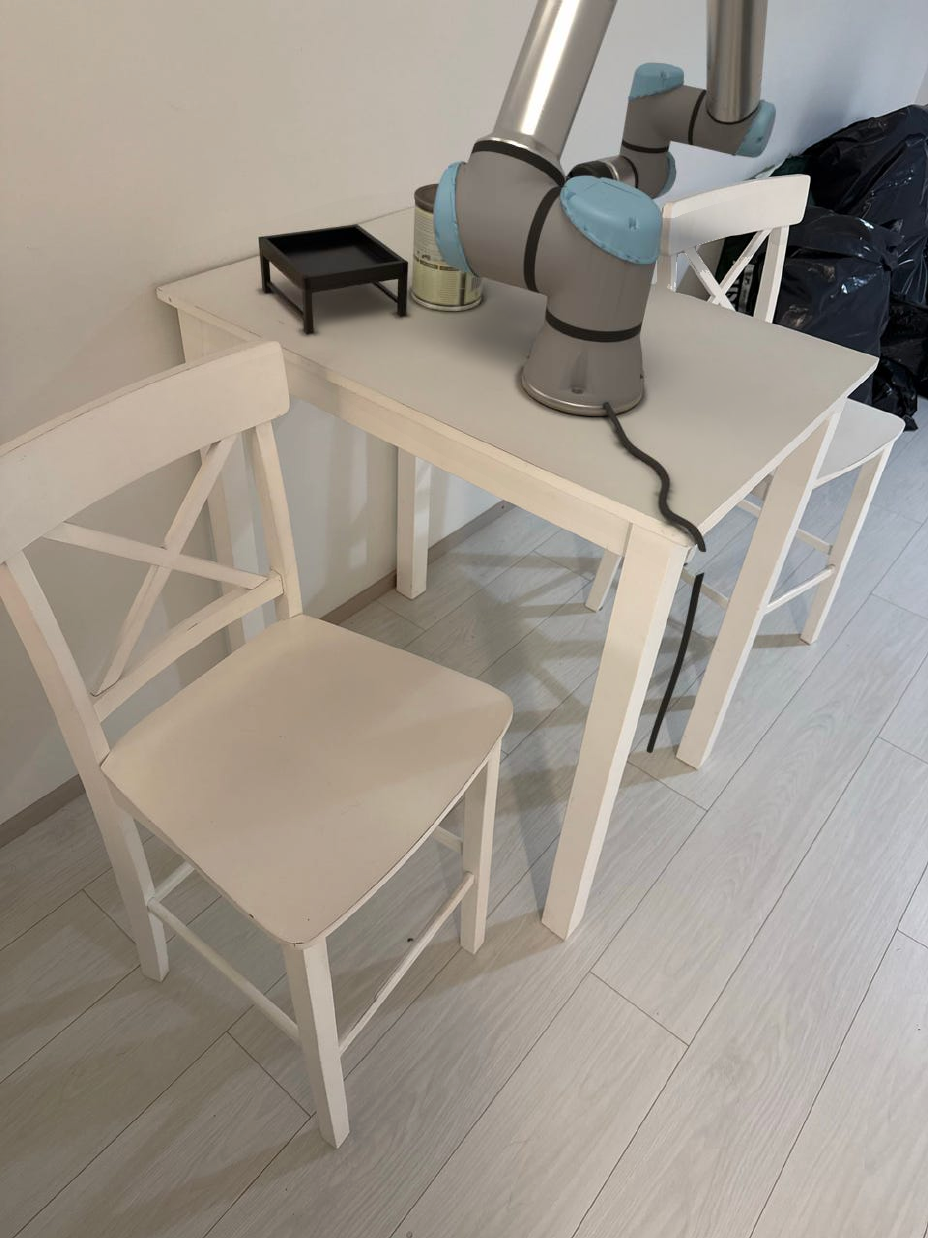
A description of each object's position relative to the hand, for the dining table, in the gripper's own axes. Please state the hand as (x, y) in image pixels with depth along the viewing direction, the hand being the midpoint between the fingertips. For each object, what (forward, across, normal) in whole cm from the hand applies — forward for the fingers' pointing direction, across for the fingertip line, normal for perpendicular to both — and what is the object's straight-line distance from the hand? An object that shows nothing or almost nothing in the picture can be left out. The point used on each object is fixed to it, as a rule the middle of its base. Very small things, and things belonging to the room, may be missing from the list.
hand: (499, 209), depth 129 cm
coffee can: (+9, 0, -11) cm, 14 cm away
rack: (+24, +7, -10) cm, 27 cm away
